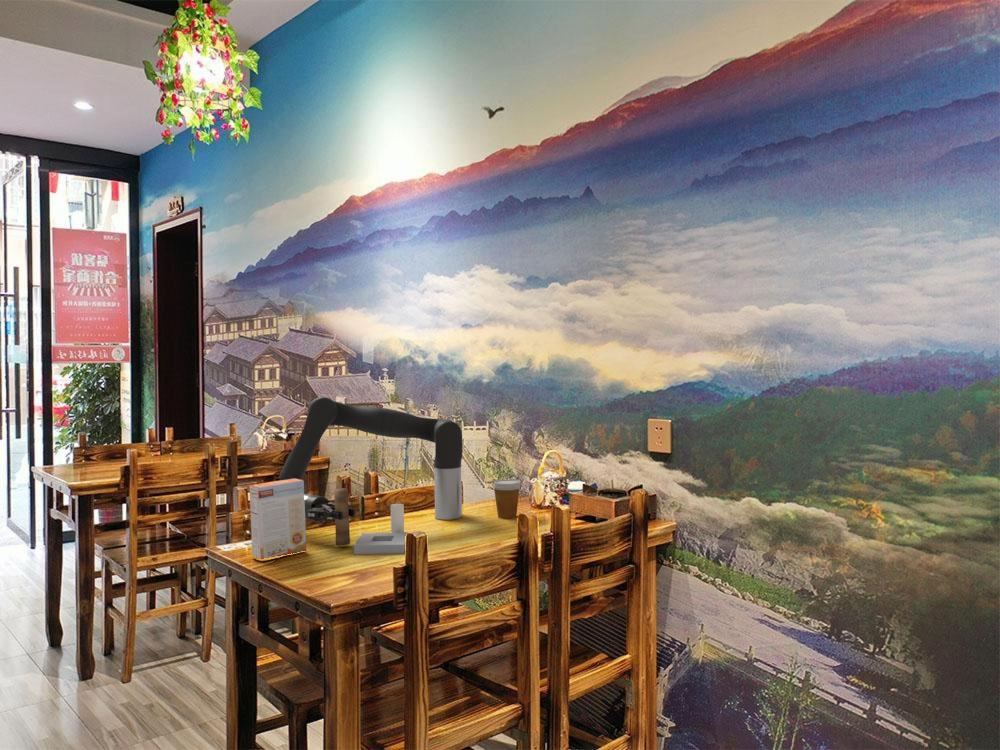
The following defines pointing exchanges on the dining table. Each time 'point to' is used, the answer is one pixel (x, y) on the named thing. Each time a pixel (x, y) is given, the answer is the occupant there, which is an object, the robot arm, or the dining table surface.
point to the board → (380, 543)
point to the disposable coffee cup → (506, 497)
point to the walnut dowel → (343, 524)
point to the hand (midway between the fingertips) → (348, 514)
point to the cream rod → (397, 518)
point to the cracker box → (277, 518)
